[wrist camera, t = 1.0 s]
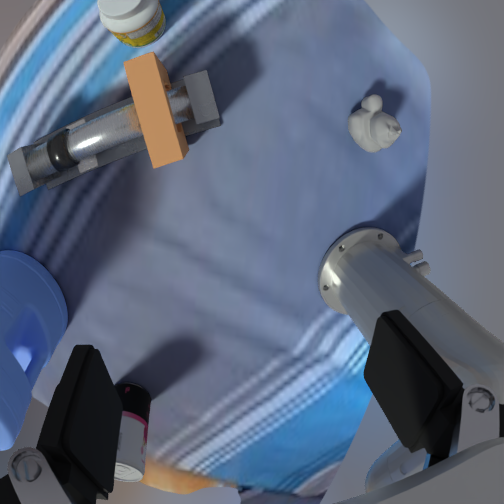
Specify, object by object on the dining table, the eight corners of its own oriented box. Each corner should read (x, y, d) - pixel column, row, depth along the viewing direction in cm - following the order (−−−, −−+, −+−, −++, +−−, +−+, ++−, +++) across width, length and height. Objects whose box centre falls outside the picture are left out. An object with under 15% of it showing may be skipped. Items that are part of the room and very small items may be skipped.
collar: (166, 70, 27) (153, 51, 19) (189, 149, 31) (183, 158, 23) (144, 77, 27) (123, 62, 19) (167, 156, 31) (153, 168, 23)
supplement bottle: (173, 35, 26) (162, 4, 17) (127, 57, 26) (99, 35, 17) (156, -1, 24) (142, -39, 15) (111, 20, 24) (82, -10, 15)
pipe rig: (206, 73, 28) (206, 60, 22) (220, 125, 31) (224, 125, 24) (35, 142, 28) (2, 149, 21) (49, 189, 30) (19, 205, 24)
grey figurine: (342, 150, 34) (377, 159, 26) (340, 94, 31) (375, 89, 24) (382, 150, 34) (421, 159, 27) (380, 97, 32) (420, 95, 24)
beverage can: (158, 392, 44) (152, 473, 31) (140, 411, 46) (133, 486, 32) (121, 374, 42) (104, 456, 28) (106, 395, 43) (90, 470, 30)
